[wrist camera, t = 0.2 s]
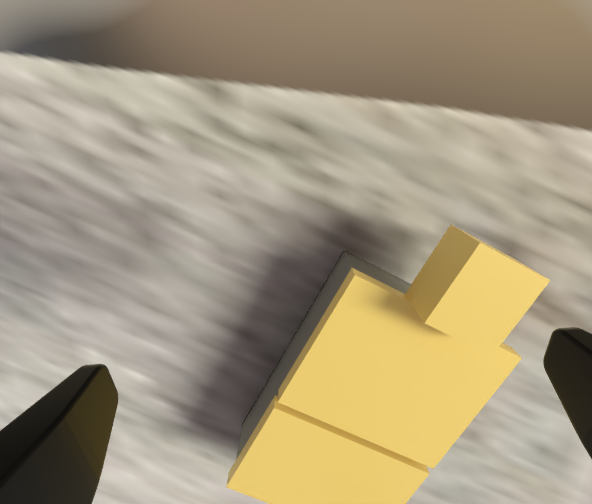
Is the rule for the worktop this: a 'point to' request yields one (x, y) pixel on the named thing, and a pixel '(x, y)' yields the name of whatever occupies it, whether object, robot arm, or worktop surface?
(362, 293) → the lid end segment
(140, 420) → the worktop surface
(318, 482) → the parts tub
